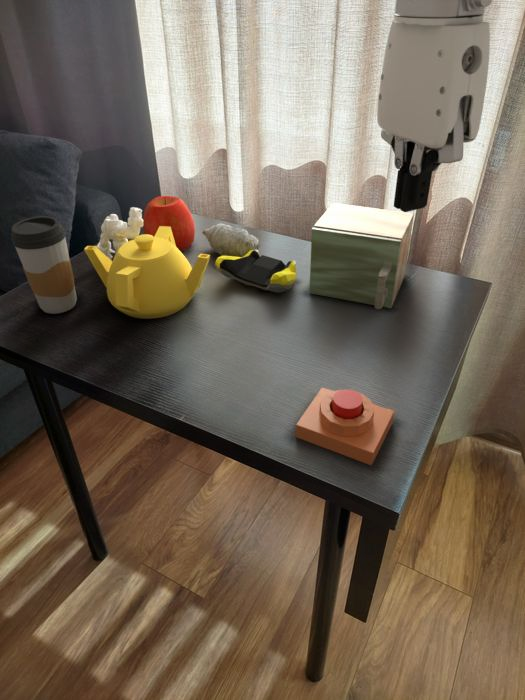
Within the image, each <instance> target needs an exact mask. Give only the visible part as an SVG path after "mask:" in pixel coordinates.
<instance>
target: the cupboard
mask: <svg viewBox="0 0 525 700" xmlns="http://www.w3.org/2000/svg"><path fill="white" fill-rule="evenodd" d="M414 217H415V213H414V212H403V211H401V210H392V209H385V208H378V207H377V208H376V207H369V206H363V205H362V206H361V205H353V204H346V203H340V202H332V203H331V204H330V205H329V207H328V208H327V209H326V211H325V212H324V213H323V214H322V215H321V217H320V218H319V219H318V220H317V221H316V222H315V224H314V225H313V227H315V228H322V229H329V230H336V231H343V232H350V233H357V234H364V235H371V236H378V237H385V238H392V239H399V240H402V241H401V247H400V254H399V261H398V267H397V274H396V281H395V288H394V294H393V301H392V306H393V305H394V302H395V300H396V297H397V296H398V292H399V291H400V288H401V286H402V283H403V281H404V279H405V273H406V269H407V268H406V267H407V261H408V255H409V249H410V244H411V243H410V242H411V235H412V229H413V223H414Z"/></svg>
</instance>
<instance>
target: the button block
mask: <svg viewBox="0 0 525 700" xmlns="http://www.w3.org/2000/svg"><path fill="white" fill-rule="evenodd" d="M339 390H340V389H336V390H331V389H329V388H325V387H321V388H320V389H319V391H318V392H317V394H316V395H315V397H314V398H313V400H312V401H311V403H310V404H309V405H308V407H307V408H306V410H305V411H304V412H303V414H302V416H301V417H300V418H299V420H298V421H297V423H296V425H295V438H297V439H300V440H303V441H306V442H307V443H310V444H313V445H316V446H319V447H321V448H324V449H326V450H329V451H332V452H335V453H336V454H340V455H343V456H345V457H347V458H350V459H352V460H355V461H358V462H361V463H363V464H366V465H369V466H372V465H373V463H374V461H375V459H376V457H377V455H378V454H379V451H380V449H381V448H382V445H383V444H384V441H385V439H386V437H387V435H388V433H389V431H390V429H391V427H392V425H393V422H394V417H395V410H392V409H390V408H387V407H383V406H381V405H377V404H375V403H373V402H372V400H370V399H369V398H368V397H367V396H366V395H365V394H363V393H361V392H358V393H359V394H360V395H361V396H362V399H363V403H362V411H361V414H360V415H359V416H358V417H356V418H354V419H343V418H340V417H338V416H336V415H335V414H334V412H333V411H332V402H333V396H334V394H335V393H336V392H337V391H339Z"/></svg>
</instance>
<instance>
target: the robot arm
mask: <svg viewBox="0 0 525 700" xmlns="http://www.w3.org/2000/svg"><path fill="white" fill-rule="evenodd" d="M492 2H493V0H395V5H394V12H393V13H394V15H393V19H392V20H391V24H390V28H389V32H388V37H387V41H386V45H385V50H384V56H383V59H382V66H381V71H380V78H379V87H378V93H377V94H378V95H377V104H376V123H377V124H378V127H379V128H380V129H381V132H380V137H381V139H382V140H383V141H384V142H386V143H387V144H388V145H389V146H391V148H392V151H393V154H394V159H393V160H394V162H393V164H394V167H395V168H396V169H397V175H396V184H395V191H394V199H393V207H394V208H395V209H398V210H399V211H400V212H408V213H410V212H412V211H416V210H421V209H424V208H426V207H427V204H428V200H429V196H430V195H429V193H430V190H431V189H430V188H431V181H432V175H433V172H436V171H438V169H439V167H440V165H442V164H452V163H457V162H461V161H463V159H464V143H465V144H466V143H471V142H473V141H475V140H476V139H477V136H478V133H479V131H480V125H481V121H482V116H483V111H484V103H485V99H486V90H487V84H488V73H489V63H490V47H491V46H490V45H491V44H490V43H491V33H490V31H491V30H490V22H488V21H483V20H484V17H485V16H484V15H485V11H486V8H487V7H489V6H490V5H491V4H492Z"/></svg>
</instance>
